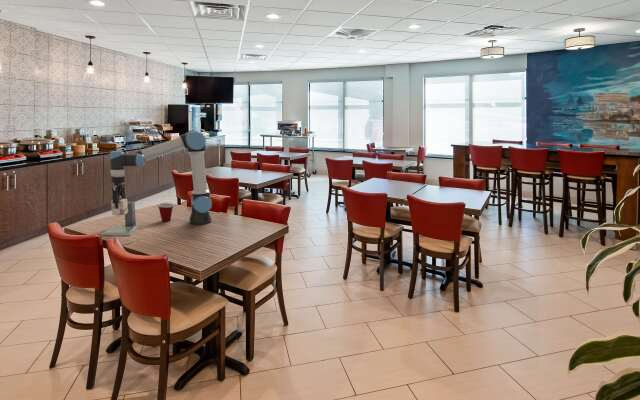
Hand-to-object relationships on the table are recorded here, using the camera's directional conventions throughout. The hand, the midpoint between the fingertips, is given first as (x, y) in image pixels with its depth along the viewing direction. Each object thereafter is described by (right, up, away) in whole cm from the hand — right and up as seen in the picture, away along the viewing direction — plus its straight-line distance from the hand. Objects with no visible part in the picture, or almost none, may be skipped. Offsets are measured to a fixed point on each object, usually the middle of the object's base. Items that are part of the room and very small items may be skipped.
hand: (120, 212), depth 256 cm
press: (-1, -12, +8) cm, 14 cm away
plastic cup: (+17, -8, +33) cm, 38 cm away
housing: (0, -1, 0) cm, 1 cm away
